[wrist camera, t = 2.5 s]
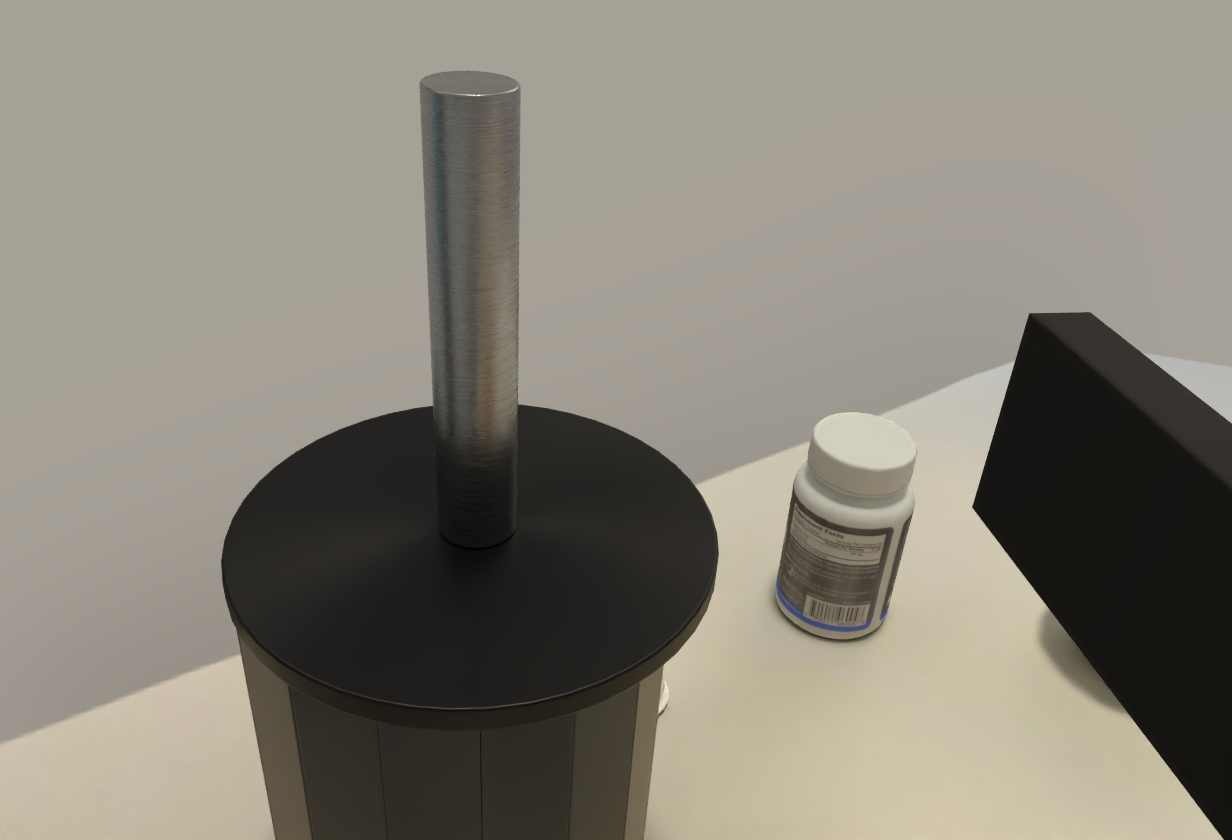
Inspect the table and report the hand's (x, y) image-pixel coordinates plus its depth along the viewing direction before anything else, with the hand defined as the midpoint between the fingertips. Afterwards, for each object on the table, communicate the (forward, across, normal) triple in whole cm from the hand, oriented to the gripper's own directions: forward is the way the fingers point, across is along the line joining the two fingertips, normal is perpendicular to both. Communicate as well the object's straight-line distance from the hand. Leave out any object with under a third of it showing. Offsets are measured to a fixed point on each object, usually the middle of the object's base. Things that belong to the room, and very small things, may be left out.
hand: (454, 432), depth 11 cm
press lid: (+9, 0, -9) cm, 13 cm away
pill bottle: (+21, +16, -23) cm, 35 cm away
